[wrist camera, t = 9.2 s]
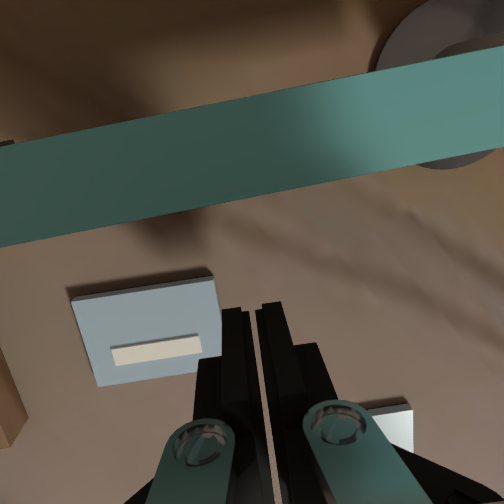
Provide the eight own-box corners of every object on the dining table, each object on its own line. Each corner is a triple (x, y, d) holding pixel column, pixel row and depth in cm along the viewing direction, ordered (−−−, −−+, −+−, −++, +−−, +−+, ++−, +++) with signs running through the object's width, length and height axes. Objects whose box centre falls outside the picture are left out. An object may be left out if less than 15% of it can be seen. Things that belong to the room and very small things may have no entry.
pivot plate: (539, -21, 13) (545, -23, 12) (524, 156, 14) (529, 156, 14) (367, 4, 12) (369, 3, 12) (374, 179, 14) (376, 180, 14)
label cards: (406, 245, 15) (412, 250, 15) (409, 468, 19) (414, 477, 18) (74, 297, 15) (69, 303, 15) (142, 510, 19) (140, 521, 18)
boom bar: (499, 34, 13) (705, -14, 7) (497, 118, 13) (682, 130, 8) (6, 133, 13) (-154, 159, 7) (35, 210, 13) (-89, 285, 8)
